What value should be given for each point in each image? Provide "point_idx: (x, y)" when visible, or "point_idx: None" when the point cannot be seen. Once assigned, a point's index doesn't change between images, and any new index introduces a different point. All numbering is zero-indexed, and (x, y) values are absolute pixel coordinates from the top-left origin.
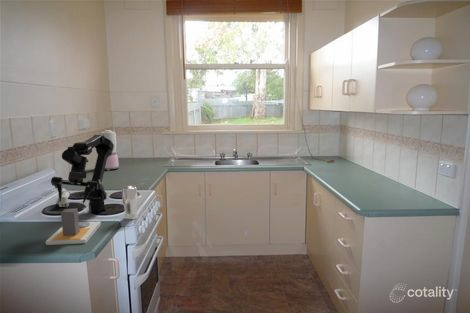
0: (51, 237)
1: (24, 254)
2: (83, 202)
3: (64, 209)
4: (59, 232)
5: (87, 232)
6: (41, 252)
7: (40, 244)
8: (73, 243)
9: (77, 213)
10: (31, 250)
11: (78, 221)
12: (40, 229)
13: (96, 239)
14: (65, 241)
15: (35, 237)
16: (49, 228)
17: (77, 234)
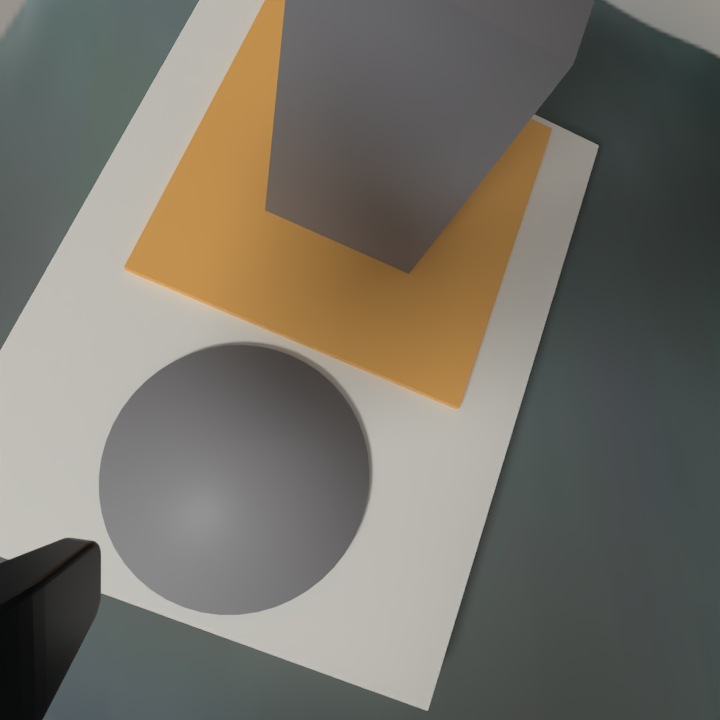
0: (558, 219)
1: (704, 64)
2: (66, 545)
3: (578, 28)
4: (492, 332)
5: (173, 154)
6: (587, 26)
7: (625, 208)
8: None
9: (292, 2)
10: (671, 113)
11: (276, 120)
12: (709, 700)
13: (99, 27)
14: None
15: (706, 432)
16: (614, 690)
17: None
